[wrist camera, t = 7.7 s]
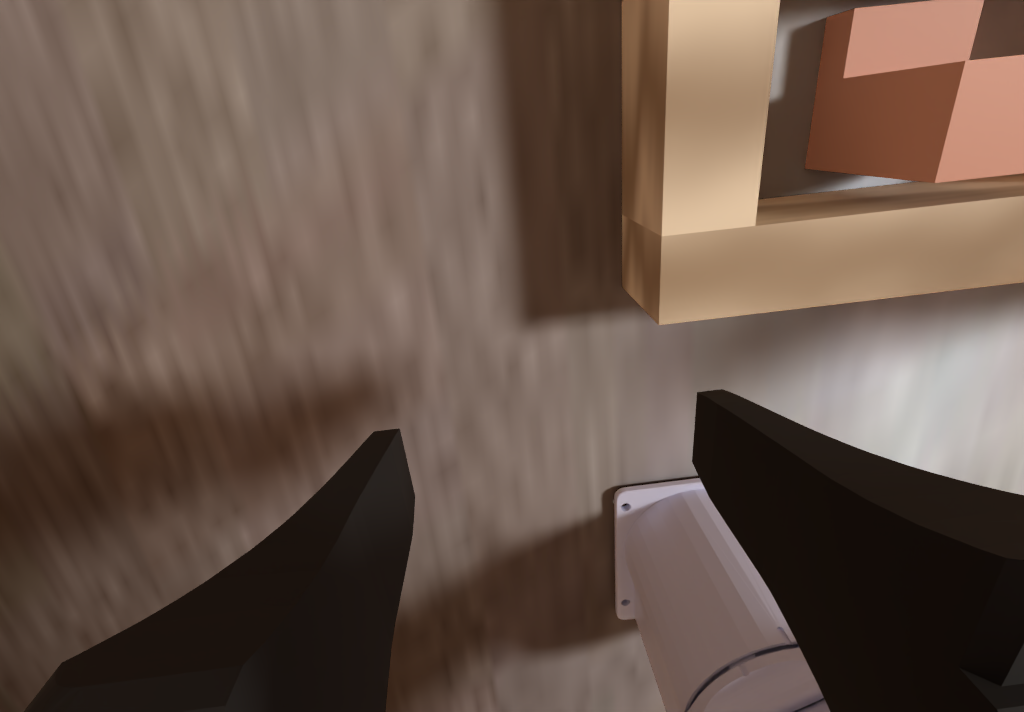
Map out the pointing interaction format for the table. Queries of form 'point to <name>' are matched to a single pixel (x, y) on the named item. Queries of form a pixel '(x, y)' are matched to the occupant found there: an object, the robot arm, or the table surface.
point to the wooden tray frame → (773, 221)
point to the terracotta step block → (915, 96)
